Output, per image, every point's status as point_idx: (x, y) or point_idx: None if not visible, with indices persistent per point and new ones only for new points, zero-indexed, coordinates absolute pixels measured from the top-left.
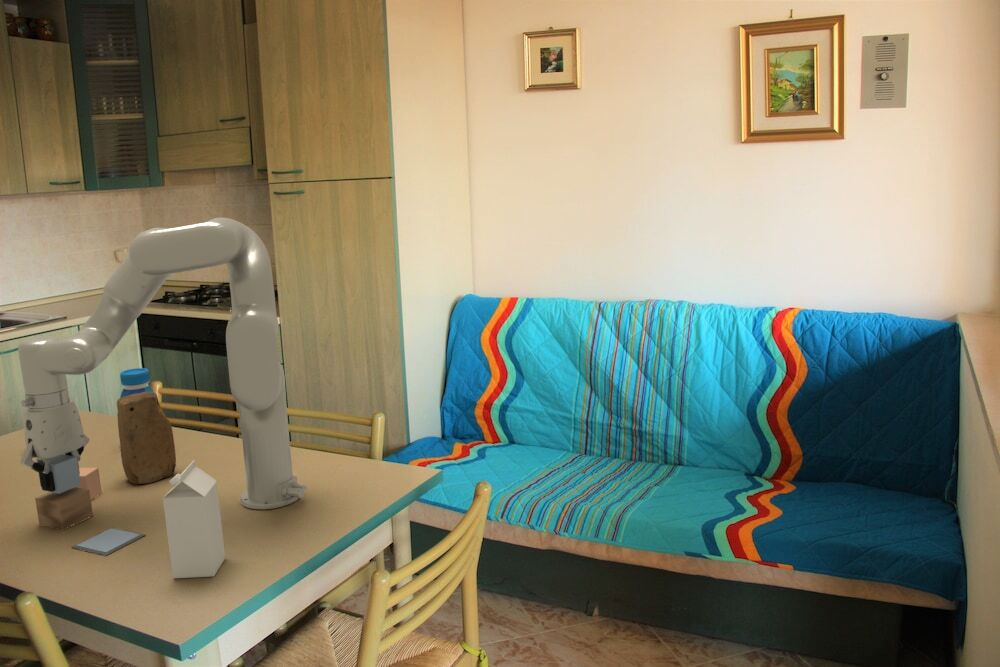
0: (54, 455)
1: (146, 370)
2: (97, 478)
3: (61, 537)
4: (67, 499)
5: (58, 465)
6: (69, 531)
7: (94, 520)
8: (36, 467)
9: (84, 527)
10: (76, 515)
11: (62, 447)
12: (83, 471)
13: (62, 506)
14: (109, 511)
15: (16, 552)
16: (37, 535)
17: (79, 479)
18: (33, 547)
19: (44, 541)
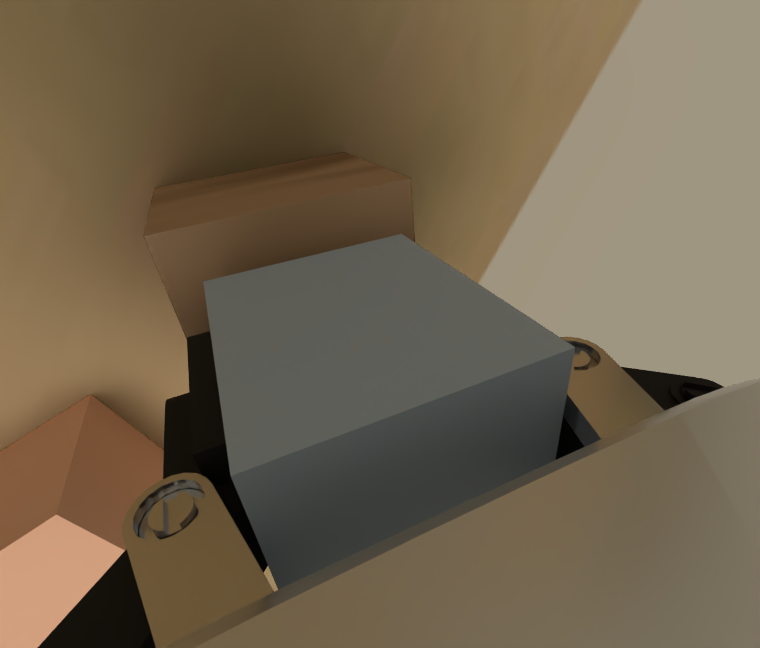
0: (725, 418)
1: None
2: None
3: (397, 66)
4: (347, 190)
5: (515, 351)
6: (337, 102)
7: (176, 114)
8: (690, 386)
9: (264, 69)
10: (268, 175)
11: (686, 595)
12: (32, 597)
13: (378, 174)
14: (36, 164)
15: (553, 110)
16: (428, 205)
17: (213, 300)
18: (506, 88)
19: (454, 105)
